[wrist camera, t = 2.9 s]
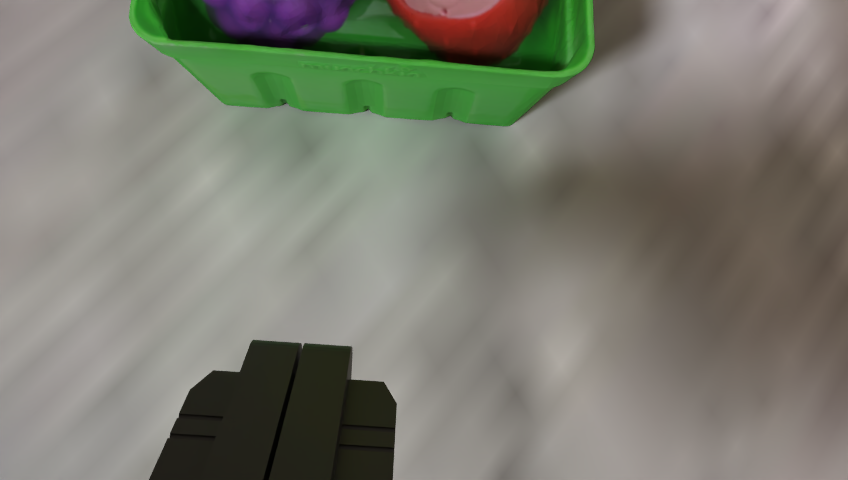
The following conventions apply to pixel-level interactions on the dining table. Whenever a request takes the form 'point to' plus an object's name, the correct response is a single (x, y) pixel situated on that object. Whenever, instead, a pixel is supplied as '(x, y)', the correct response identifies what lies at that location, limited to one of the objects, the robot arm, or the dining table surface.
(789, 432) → the dining table surface
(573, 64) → the fruit basket
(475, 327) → the dining table surface
